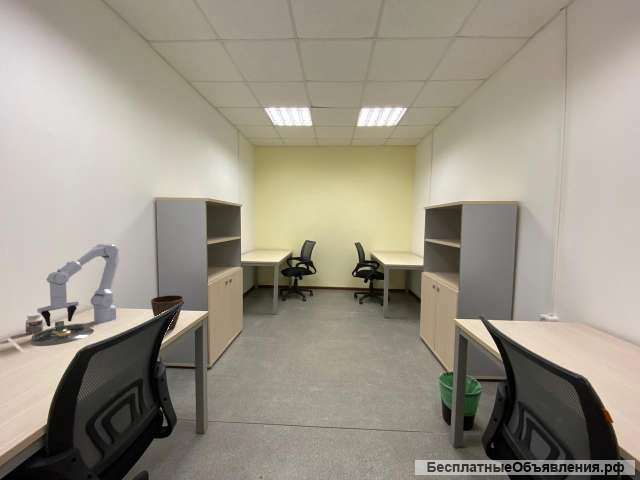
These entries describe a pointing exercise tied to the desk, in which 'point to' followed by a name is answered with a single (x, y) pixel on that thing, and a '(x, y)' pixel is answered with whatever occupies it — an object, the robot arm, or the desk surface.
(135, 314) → the desk surface
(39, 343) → the dark grey round tray
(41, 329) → the pill bottle
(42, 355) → the desk surface
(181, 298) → the plant pot
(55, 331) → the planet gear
